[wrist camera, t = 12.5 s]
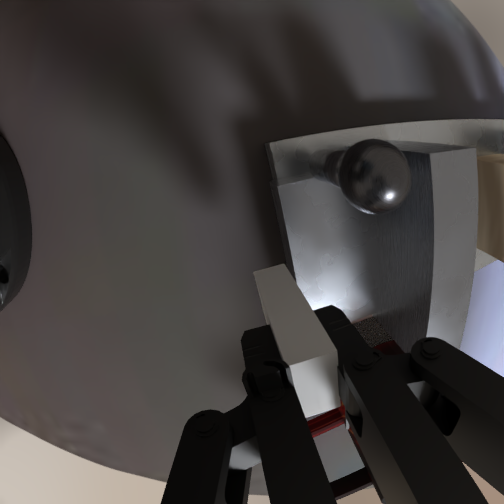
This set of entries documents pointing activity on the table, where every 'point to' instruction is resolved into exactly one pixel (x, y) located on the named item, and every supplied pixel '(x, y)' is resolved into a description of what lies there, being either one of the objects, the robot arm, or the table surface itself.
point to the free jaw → (385, 234)
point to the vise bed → (432, 131)
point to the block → (491, 205)
